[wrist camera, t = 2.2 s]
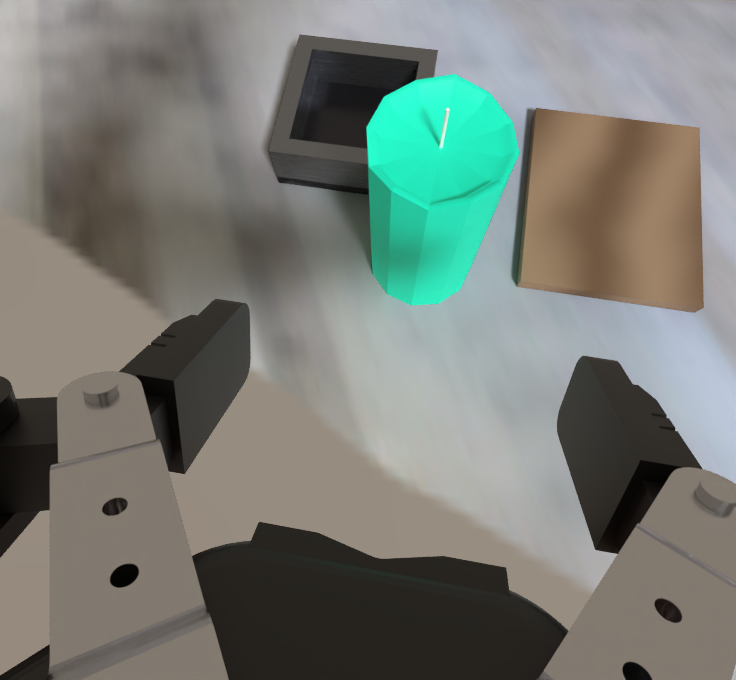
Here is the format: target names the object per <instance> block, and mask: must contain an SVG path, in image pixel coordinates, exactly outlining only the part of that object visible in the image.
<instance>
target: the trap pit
mask: <svg viewBox="0 0 736 680" xmlns="http://www.w3.org/2000/svg"><path fill="white" fill-rule="evenodd" d="M437 53H438V50H431V49H422V48H413V47H404V46H396V45H387V44H378V43H369V42H360V41H352V40H343V39H334V38H325V37H316V36H308V35H300V36H299V39H298V43H297V47H296V50H295V54H294V58H293V61H292V65H291V69H290V73H289V76H288V80H287V84H286V87H285V91H284V95H283V99H282V102H281V106H280V110H279V113H278V117H277V121H276V125H275V128H274V132H273V136H272V139H271V143H270V147H269V150H268V151H269V154H270V157H271V160H272V163H273V166H274V169H275V172H276V175H277V178H278V181H279V182H280V183H288V184H295V185H302V186H310V187H317V188H324V189H332V190H339V191H346V192H354V193H361V194H368V195H369V181H368V155H367V129H366V127H367V126H368V124H369V122H370V120H371V119H372V117H373V115H374V113H375V112H376V110H377V108H378V106H379V105H380V103H381V101H382V99H383V98H384V96H386V95H388V94H390V93H392V92H394V91H396V90H398V89H400V88H402V87H403V86H405V85H407V84H409V83H411V82H413V81H415V80H419V79H426V78H433V77H434V75H435V68H436V60H437Z"/></svg>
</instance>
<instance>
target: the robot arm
mask: <svg viewBox="0 0 736 680" xmlns="http://www.w3.org/2000/svg"><path fill="white" fill-rule="evenodd" d="M249 368H250V315H249V308H248V305H247V304H246V303H240V302H233V301H227V300H220V299H215V300H214V301H212V302H211V303H210V304H209V305H208V306H207V307H206V308H205V309H204V310H203V311H202V312H201V313H200V314H199V315H198V316H196V315H190V316H188V317H186V318H183V319H181V320H179V321H176V322H174V323H173V324H171V325H170V326H169V327H168V328H167V329H166V330H165V331H164V332H163V333H161V336H158V337H157V338H156V339H155V340H154V341H153V342H151V345H148V346H147V347H146V348H145V349H144V350H143V351H142V352H140V353H139V354H138V355H137V356H136V357H135V358H134V359H133V360H131V361H130V362H129V363H128V364H127V365H126V366H125V367H124V368H123V369H122V370H120V371H119V372H101V373H95V374H91V375H88V376H84V377H82V378H79V379H77V380H75V381H73V382H71V383H70V384H68V385H67V386H66V387H65V388H63V389H62V391H61V392H60V393H59V395H58V397H51V398H26V399H16V398H15V395H14V392H13V389H12V386H11V383H10V382H9V381H8V380H7V379H6V378H4V377H1V376H0V557H1V556H2V555H3V554H4V553H5V552H6V550H7V549H8V548H9V547H10V545H11V544H12V543H13V542H14V541H15V540H16V539H17V537H18V536H19V535H20V534H21V533H22V532H23V530H24V529H25V528H26V527H27V526H28V524H29V523H30V522H31V521H32V520H33V519H34V517H35V516H36V515H37V514H38V513H39V512H40V511H44V510H50V644H49V645H48V646H46V647H45V648H43V649H42V650H40V651H38V652H37V653H35V654H34V655H32V656H30V657H29V658H27V659H26V660H24V661H23V662H21V663H20V664H18V665H17V666H15V667H13V668H11V669H10V670H8V671H7V672H5V673H4V674H2V675H0V680H731V678H732V675H733V671H734V668H735V664H736V484H735V483H733V482H731V481H730V480H728V479H726V478H724V477H722V476H720V475H718V474H715V473H712V472H710V471H707V470H703V469H702V467H701V466H700V464H699V463H698V461H697V460H696V458H695V457H694V455H693V454H692V452H691V451H690V449H689V448H688V446H687V445H686V444H685V442H684V441H683V439H682V438H681V436H680V435H679V433H678V432H677V431H675V427H674V426H673V424H672V423H671V421H670V420H669V418H666V416H667V415H666V414H665V412H664V411H663V409H662V408H661V406H660V405H659V403H658V402H657V400H656V399H655V398H653V397H652V396H651V395H650V394H648V393H647V392H646V391H645V390H643V389H642V388H641V387H640V386H638V385H633V384H632V383H631V381H630V379H629V378H628V376H627V375H626V373H625V371H624V370H623V368H622V367H621V365H620V364H619V362H617V361H614V360H607V359H601V358H594V357H588V356H582V357H581V358H580V359H579V360H578V362H577V364H576V366H575V369H574V372H573V374H572V377H571V380H570V383H569V385H568V388H567V391H566V393H565V396H564V399H563V402H562V404H561V407H560V410H559V414H558V420H557V432H558V436H559V440H560V443H561V446H562V449H563V452H564V455H565V458H566V461H567V464H568V467H569V470H570V473H571V476H572V480H573V483H574V486H575V489H576V492H577V495H578V498H579V501H580V504H581V507H582V510H583V513H584V516H585V519H586V523H587V526H588V529H589V532H590V535H591V538H592V541H593V544H594V547H595V550H599V551H605V552H610V553H616V554H618V555H617V556H616V558H615V560H614V561H613V563H612V564H611V566H610V567H609V569H608V571H607V572H606V574H605V575H604V577H603V578H602V580H601V581H600V583H599V585H598V586H597V588H596V589H595V591H594V592H593V594H592V596H591V597H590V599H589V600H588V602H587V603H586V605H585V607H584V608H583V610H582V611H581V613H580V614H579V616H578V618H577V619H576V621H575V622H574V624H573V625H572V627H571V629H570V630H569V631H568V630H567V629H566V628H565V627H564V626H562V624H561V623H559V622H558V621H557V620H556V619H555V618H553V617H552V616H551V615H550V614H549V613H547V612H546V611H544V610H543V609H542V608H540V607H539V606H537V605H536V604H534V603H533V602H531V601H529V600H528V599H526V598H524V597H522V596H520V595H519V594H517V593H515V592H512V591H510V590H509V587H508V579H507V571H506V568H505V567H499V566H494V565H488V564H483V563H478V562H472V561H466V560H462V559H456V558H451V557H445V556H437V557H416V558H394V559H379V558H375V557H372V556H370V555H367V554H365V553H363V552H360V551H358V550H356V549H354V548H351V547H349V546H346V545H345V544H342V543H340V542H338V541H335V540H333V539H331V538H328V537H326V536H324V535H322V534H319V533H316V532H310V531H305V530H300V529H294V528H289V527H284V526H279V525H273V524H268V523H262V522H259V523H258V525H257V528H256V530H255V533H254V535H253V537H252V540H251V541H244V542H237V543H230V544H225V545H222V546H218V547H214V548H211V549H208V550H205V551H203V552H200V553H198V554H195V555H193V556H192V555H191V552H190V548H189V544H188V541H187V537H186V533H185V530H184V526H183V522H182V519H181V515H180V511H179V508H178V504H177V500H176V497H175V493H174V489H173V486H172V482H171V478H170V475H169V471H170V472H176V473H182V474H185V473H186V471H187V470H188V468H189V467H190V465H191V464H192V462H193V460H194V459H195V457H196V456H197V454H198V453H199V451H200V450H201V448H202V447H203V445H204V443H205V442H206V441H207V439H208V438H209V436H210V435H211V433H212V431H213V430H214V429H215V427H216V425H217V424H218V422H219V421H220V419H221V418H222V416H223V415H224V413H225V412H226V410H227V409H228V407H229V406H230V404H231V403H232V401H233V399H234V398H235V396H236V395H237V393H238V392H239V390H240V389H241V387H242V386H243V384H244V383H245V380H246V378H247V376H248V372H249Z"/></svg>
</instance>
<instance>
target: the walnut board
mask: <svg viewBox="0 0 736 680" xmlns="http://www.w3.org/2000/svg"><path fill="white" fill-rule="evenodd" d="M517 287H524V288H531V289H538V290H544V291H551V292H558V293H565V294H572V295H578V296H585V297H592V298H599V299H606V300H612V301H619V302H626V303H633V304H640V305H647V306H653V307H660V308H667V309H674V310H681V311H687V312H694V313H695V312H696V311H698V310H700V309H702V308H704V303H703V260H702V217H701V174H700V132H699V128H697V127H689V126H680V125H672V124H664V123H656V122H647V121H639V120H631V119H622V118H614V117H606V116H597V115H589V114H581V113H573V112H564V111H556V110H548V109H539V108H536V110H535V113H534V115H533V117H532V128H531V139H530V150H529V161H528V171H527V182H526V193H525V204H524V215H523V225H522V236H521V247H520V258H519V269H518V280H517Z"/></svg>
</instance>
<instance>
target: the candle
mask: <svg viewBox="0 0 736 680" xmlns="http://www.w3.org/2000/svg"><path fill="white" fill-rule="evenodd" d="M366 129H367V155H368V181H369V207H370V233H371V255H372V271H373V275H374V276H375V278H376V279H377V281H378V282H379V283H380V285H381V286H382V288H383V289H384V290H385V292H386V293H387V294H388V295H390V296H392V297H395V298H397V299H399V300H401V301H403V302H405V303H408V304H410V305H423V304H438V303H440V302H441V301H443V300H445V299H446V298H448V297H449V296H451V295H452V294H454V293H456V292H457V291H459V290H460V289H461V287H462V284H463V282H464V280H465V278H466V276H467V274H468V272H469V270H470V268H471V266H472V263H473V261H474V259H475V256H476V254H477V252H478V249H479V247H480V245H481V242H482V240H483V238H484V235H485V233H486V231H487V228H488V226H489V224H490V221H491V219H492V216H493V214H494V212H495V209H496V207H497V205H498V202H499V200H500V198H501V195H502V193H503V191H504V188H505V186H506V184H507V181H508V179H509V177H510V174H511V172H512V170H513V167H514V165H515V163H516V160H517V158H518V156H519V149H518V145H517V140H516V135H515V130H514V126H513V122H512V121H511V119H510V118H509V117H508V116H507V114H506V113H505V112H504V110H503V109H502V108H501V107H500V105H499V104H498V103H497V101H496V100H495V99H494V98H493V96H492V95H491V94H490V93H489V92H487V91H485V90H484V89H482V88H480V87H478V86H476V85H474V84H472V83H471V82H469V81H467V80H465V79H463V78H461V77H459V76H458V75H456V74H453V75H446V76H439V77H433V78H426V79H419V80H415V81H413V82H411V83H409V84H407V85H405V86H403V87H402V88H400V89H398V90H396V91H394V92H392V93H390V94H388V95H386V96H384V98H383V99H382V101H381V103H380V105H379V106H378V108H377V110H376V112H375V113H374V115H373V117H372V119H371V120H370V122H369V124H368V126H367V127H366Z"/></svg>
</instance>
